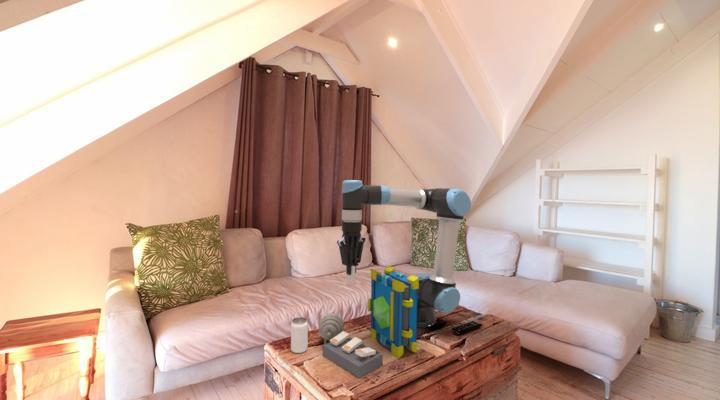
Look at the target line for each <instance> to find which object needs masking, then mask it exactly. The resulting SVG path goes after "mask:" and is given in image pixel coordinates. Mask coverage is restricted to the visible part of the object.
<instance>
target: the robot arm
mask: <svg viewBox="0 0 720 400" xmlns="http://www.w3.org/2000/svg"><path fill="white" fill-rule="evenodd" d="M341 195H342V196H341V201H342V202H341V204H342V205H341V220H342V222H341V231H342V235H341V238H340V239H339V240H337V241H336V244H337V245H338V247H339V254H340V259H341V264H342V265H344V266H346V270H345V271H346V275H347V276H346V277H347V283H349V284H351V285H352V284H356V274H357V267H358V266H359V264H360V263H361V261H362V255H363V249H364V244H365V242H366V237H363V236H362V233H361V232H362V230H363V228H362V227H363V225H362V224H363V222H362V221H363V206H369V205H371V206H375V205H376V206H378V205H379V206H382V205H385V206H399V207H410V208H411V207H412V208H415V209H417V210H422V211H427V212H431V213H435V214H436V216H435V217H436V218H437V220H438V231H437V238H436V239H437V240H436V247H435V248H436V249H435V255H434V264H433V265H434V266H433V271H432V272H433V274H432V273H429V272H418V273H413V274H411V275H413V276H416V277H418V278H419V289H418V292H417V328H422V329H423V328H426V327H427V326H428V325H429V324H432V323H434V322H436V320H437V315H436V312H435V311H438V312H441V313H444V314H449V313H451V312H453V311H455V309H457V307H458V306H459V304H460V300H461V294H460V291H459V290H458V289H457V287H456V286H457V285H456V284H457V281H456V279H455V278H454V272H455V271H454V270H455V263H456V262H455V261H456V256H457V255H456V254H457V246H458V237H459V236H458V235H459V229H460V227H459V226H460V223H462V222H463V221H464V216H466V215H467V214H468V213H469V212H470V209H471V206H472V203H471V198H470V195H468V193H467V192H466V191H465V190H463V189H461V188H453V187H451V188H450V187H449V188H439V187H437V188H425V189H424V188H417V189H416V190H413V189H412V190H411V189H404V188H403V189H401V188H400V189H399V188H394V187H393V188H391V187H388V186H387V185H380V184H379V185H364V184H363V180H358V179H356V180H355V179H350V180H349V179H345V180H343V181H342V187H341Z"/></svg>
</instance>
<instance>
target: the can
mask: <svg viewBox="0 0 720 400" xmlns="http://www.w3.org/2000/svg"><path fill="white" fill-rule="evenodd" d="M291 321H292V322H291V323H290V350H291V352H292V353H294V354H303V353H306V352H307V351H308V344H309V343H308V342H309V340H308V334H309V333H308V330H309V329H308V321H307V318H306V317H303V316H300V317H299V316H297V317H294V318H293V319H292V320H291Z"/></svg>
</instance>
